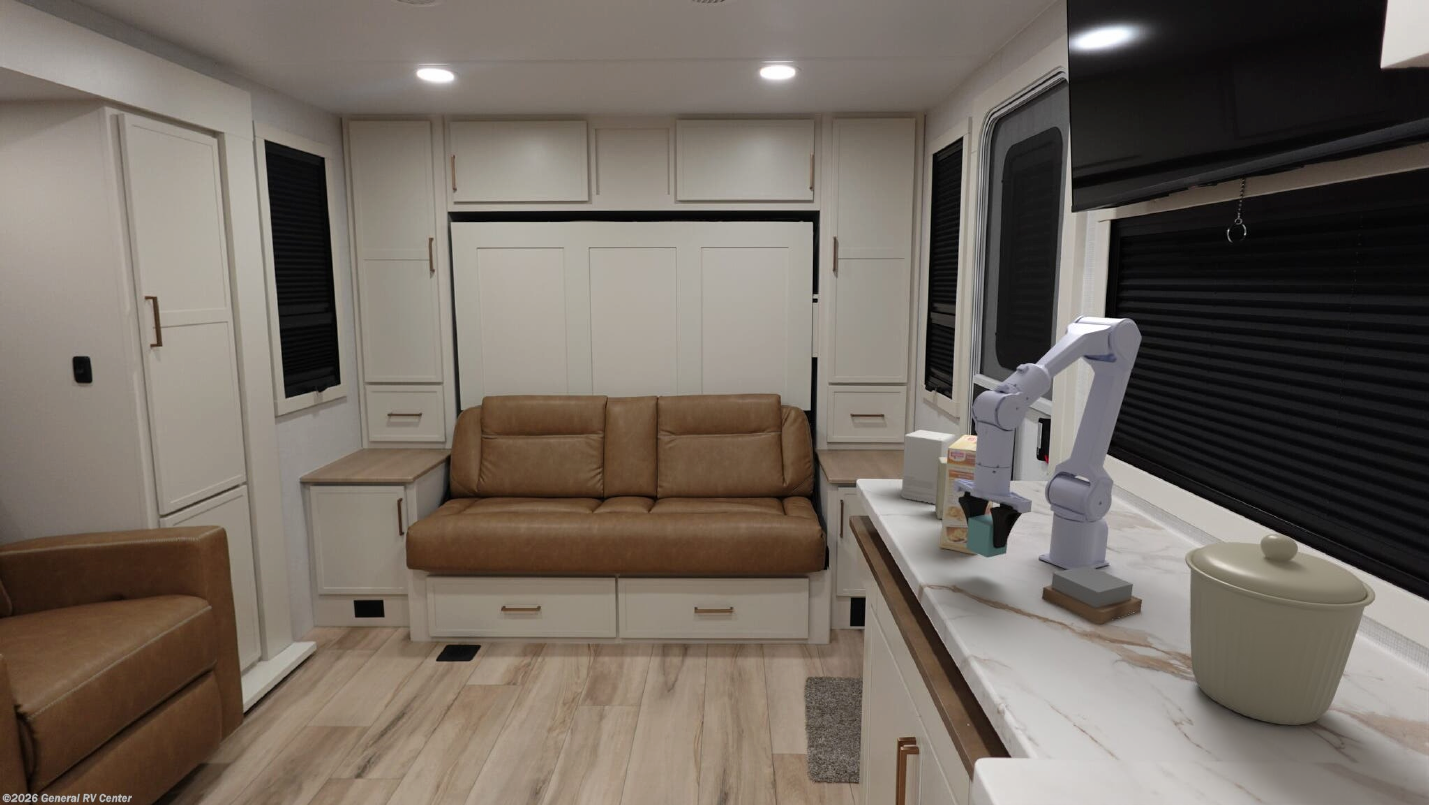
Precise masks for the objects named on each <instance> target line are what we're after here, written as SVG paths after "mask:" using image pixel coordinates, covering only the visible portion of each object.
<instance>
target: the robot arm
mask: <svg viewBox="0 0 1429 805" xmlns="http://www.w3.org/2000/svg"><path fill="white" fill-rule="evenodd" d="M1064 333H1065V335H1064V336H1063V337H1062V338H1061V339H1059V341H1058V342H1056V343H1055V344H1054V346H1052V347H1051V348H1050V349H1049V350H1048V352H1046V353H1045V355H1043V356H1042V357H1041V358H1040V359H1039V360H1038V361H1037V362H1036V363H1030V362H1029V363H1025V364H1020V365H1018V366H1017V367H1016V370H1015V372H1014V373H1012V374H1010V376H1009V377H1008V378H1006V379H1005V380H1003V381H1002V382H1000V383H999V384H997V386H996V387H995V388H994V389H993V390H985V391H983V392H982V393H980V394H979V395H978V396H977V397H976V398H975V400H974V401H973V405H972V406H970V415H971V417H972V419H973V421H974V423H975V426H974V431H975V433H976V434H977V435H976V436H977V444H976V458H975V472H974V481H970V480H966V479H956V480H954V491H957V492H960V491H961V492H964V495H963V497H959V499H958V502H959V504H960V505H961V507H962V509H963V512H964V514H965V517H966V521H967V525H968V520H969V518H971V517H976V516H981V515H985V512H986V508H987V505H988V503H989V501H991V502H993V504H998V506H993V507H992V508H990V512H991V515H992V520H993V546H994V548H996V549H998V548H1003V547H1005V545H1006V542H1007V543H1008V539H1009V537H1010V535H1011V534H1010V533H1011V532H1012V529H1013V528H1014V526H1015V524H1016V522H1017V521H1018V519H1019V518H1020V517H1021V516H1022V515H1023V514H1027V513H1031V512H1032V503H1033V500H1032V499H1028V498H1026V497H1024V496H1022V495H1020V494H1018V493H1017V492H1014V491H1013V490H1011V480H1012V477H1011V476H1012V468H1013V456H1014V443H1015V431H1016V428H1019V427H1020V426H1021V425H1022V423H1023V422H1024V420H1025V416H1026V414H1027V412H1028V411H1029V409H1030V407H1031V405H1033V404H1034V403H1035V402H1037V401H1038V400H1039V399H1040V398H1041V397H1042V396H1043V395H1045V394H1046V393H1047V392H1049V390H1050V389H1051V386H1052V379H1053V378H1054V377H1057V375H1059V374H1060V373H1061V372H1063V371H1064V370H1066V369H1067V368H1068V367H1069V366H1071V365H1073V363H1074V364H1075V362H1076V361H1079V359H1081V358H1082V360H1083V361H1085V363H1087V364H1088V365H1090V367H1091V369H1092V370H1093V372H1094V376H1093V380H1092V383H1091V386H1090V389H1089V392H1088V396H1087V399H1086V403H1085V407H1084V409H1083V413H1082V416H1081V420H1080V423H1079V427H1078V430H1077V433H1076V436H1075V440H1074V443H1073V446H1072V450H1071V453H1070V457H1069V458H1068V459H1066V460H1064V461H1061V462H1060V463H1057V464H1056V465H1055V468H1054V472H1053V474H1052V475H1051V477H1050V478H1049V480H1048V481H1047V483H1046V486H1045V489H1044V496H1045V500H1046V502H1047V503H1048V504H1049V505H1050V511H1052V512H1053V514H1052V523H1051V524H1052V526H1051V537H1050V545H1049V552H1048V553H1045V554H1040V555H1038V556H1037V557H1038V559H1040V560H1042V561H1043V562H1047V563H1050V564H1052V565H1054V566H1057V567H1060V568H1062V569H1063V570H1068V569H1073V568H1077V567H1082V566H1087V565H1088V566H1090V567H1093V568H1095V569H1098V568H1101V567H1105V566H1108V565H1110V561H1108V560H1106V556H1107V555H1106V554H1107V547H1108V537H1109V526H1108V523H1107V521H1106V520H1105V518H1104V517H1105V516H1106V515H1107V514H1108V513H1109V511H1110V509H1111V506H1112V504H1113V503H1112V502H1113V501H1112V500H1113V499H1112V496H1113V495H1112V489H1113V486H1114V483H1115V482H1114V480H1113V478H1112V477H1111V475H1109V473H1108V472H1107V470H1106V469H1105V468H1104V463H1105V460H1106V456H1107V454H1108V450H1109V447H1110V443H1111V440H1112V436H1113V434H1114V430H1115V426H1116V423H1117V419H1118V417H1119V414H1120V410H1121V406H1122V402H1123V400H1124V397H1125V393H1126V390H1127V387H1128V384H1129V379H1130V376H1131V373H1132V370H1133V368H1134V365H1135V361H1136V360H1137V355H1138V351H1139V348H1140V345H1141V342H1142V337H1143V336H1142V335H1141V332H1140V330H1139V328H1138V326H1137V324H1136V323H1135V321H1134V320H1133V319H1131V318H1112V317H1111V318H1110V317H1095V316H1090V315H1081V316H1078V317H1076V318H1075V319H1074V320H1073V321H1072V322H1071V323H1070V324H1068V325H1067V326H1066V327H1065V332H1064ZM1078 477H1080V478H1078ZM1081 477H1082V478H1085V479H1086V480H1085V479H1081Z"/></svg>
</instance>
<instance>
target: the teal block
mask: <svg viewBox="0 0 1429 805" xmlns="http://www.w3.org/2000/svg"><path fill="white" fill-rule="evenodd" d="M1007 548H1008V541H1007V542H1006V545H1005V547H1003V548H998V549H996V548H994V546H993V520H992V516H991V515H988V514H986V515H981V516H976V517H971V518H969V520H968V534H967V547H966V549H968V550H970V551H972V552H975V553H977V555H980V556H983V557H985V558H987V559H988V558H993V557H997V556H1000V555H1004V554H1005V555H1006V554H1007Z"/></svg>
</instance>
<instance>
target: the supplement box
mask: <svg viewBox="0 0 1429 805" xmlns="http://www.w3.org/2000/svg"><path fill="white" fill-rule="evenodd" d="M956 435H957V434H953V433H946V432H945V433H944V432H940V431H939V432H937V431H930V430H924V429H919V430H915V431H913V432H909V433H907V434H905V435H904V443H903V444H904V448H903V449H904V450H903V463H902V481H901V482H902V483H901V484H902V485H901V498H902V497H903V498H902V499H906V500H911V499H913V500H912V501H916V500H917V501H916V502H921V501H924V502H923V503H926V502H928V503H927V504H931V503H933V504H932V505H936V492H937V476H938V461H939V457H947V456H948V447H950V446H951V445H952V444H953V443H955V442H956V437H957V436H956Z"/></svg>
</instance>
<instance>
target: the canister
mask: <svg viewBox="0 0 1429 805" xmlns="http://www.w3.org/2000/svg"><path fill="white" fill-rule="evenodd" d="M1184 557H1185V558H1184V560H1185V563H1186V566H1187V567H1188V568H1189V569H1190V587H1189V588H1190V589H1189V591H1190V592H1189V593H1190V596H1189V598H1190V600H1189V601H1190V613H1189V614H1190V617H1189V618H1190V619H1189V620H1190V631H1189V632H1190V660H1191V668H1192V670H1191V671H1192V672H1193V673H1192V674H1193V676H1194V680H1195V682H1196V683H1197V684H1198V686H1199V687H1200V689H1201V691H1203V692H1204V693H1205V694H1206V696H1208V697H1210V698H1211V699H1212V700H1213V701H1215V702H1217V703H1218V704H1219V705H1221V706H1224V707H1225V708H1226V709H1229V710H1231V711H1233V712H1235V713H1238V714H1241V715H1243V716H1244V717H1245V716H1246V717H1250V718H1251V719H1253V720H1254V719H1255V720H1259V721H1261V722H1267V723H1269V724H1270V723H1271V724H1279V725H1289V726H1292V725H1295V726H1300V725H1307V724H1310V723H1313V722H1315V721H1317V720H1319V719H1320V718H1322V717H1323V716H1324V715H1325V714H1326V712H1327V711H1328V710H1329V709H1330V708H1331V705H1332V704H1333V700H1334V699H1335V695H1336V692H1337V690H1338V688H1339V685H1340V683H1341V681H1342V680H1341V679H1342V676H1343V674H1344V672H1345V668H1346V666H1347V662H1348V660H1349V657H1350V654H1351V651H1352V648H1353V645H1354V642H1355V639H1356V635H1357V634H1358V629H1359V627H1360V624H1361V621H1362V616H1363V613H1364V611H1365V608H1366V607H1368V606H1370V605H1371V604H1372V603H1373V602H1374V601H1375V600H1376V593H1375V591H1374V590H1373V588H1372V587H1371V586H1370V585H1368V583H1367V582H1365V581H1363V580H1362V579H1360V578H1359V577H1357V575H1355V574H1354V573H1353V572H1351V571H1349V570H1348V569H1346V568H1344V567H1342V566H1340V565H1338V564H1337V563H1336V564H1335V563H1334V562H1332V561H1329V560H1327V559H1325V558H1324V559H1323V558H1320V557H1318V556H1314V555H1311V554H1308V553H1304V552H1301V551H1299V547H1298V544H1297V542H1296V541H1295V540H1294V539H1293V538H1291V537H1290V536H1287V535H1284V534H1279V533H1271V534H1267V535H1265V536H1263V537H1262V539H1261V540H1260V544H1259V543H1249V542H1229V541H1227V542H1218V543H1212V544H1211V543H1210V544H1207V545H1205V546H1201V547H1198V548H1194V549H1192V550H1190V551H1188V552H1187V553H1186V554H1185V556H1184Z"/></svg>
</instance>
